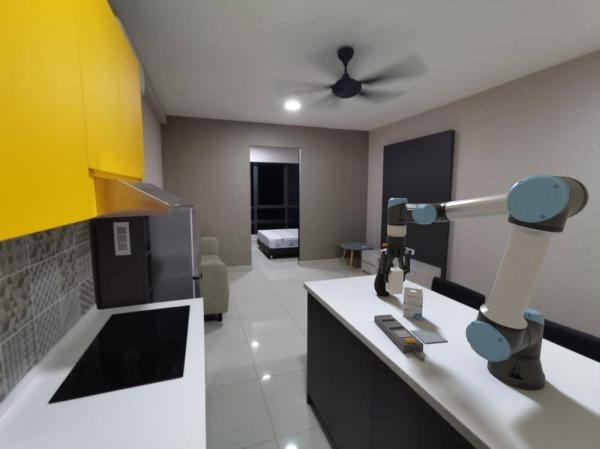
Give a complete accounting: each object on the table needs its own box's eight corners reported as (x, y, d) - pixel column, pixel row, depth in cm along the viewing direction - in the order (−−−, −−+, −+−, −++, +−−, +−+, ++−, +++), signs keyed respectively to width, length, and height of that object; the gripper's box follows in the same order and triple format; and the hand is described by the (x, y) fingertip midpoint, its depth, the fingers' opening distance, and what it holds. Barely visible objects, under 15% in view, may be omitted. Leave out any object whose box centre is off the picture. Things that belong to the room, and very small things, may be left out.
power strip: (432, 360, 100) (433, 350, 99) (412, 362, 98) (412, 352, 98) (390, 320, 131) (390, 312, 131) (374, 321, 130) (374, 313, 129)
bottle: (369, 292, 168) (371, 243, 165) (383, 290, 172) (385, 242, 169) (382, 298, 158) (384, 246, 155) (396, 296, 163) (398, 245, 160)
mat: (447, 341, 113) (447, 340, 113) (424, 343, 111) (424, 342, 111) (432, 329, 123) (432, 328, 123) (411, 331, 121) (411, 330, 121)
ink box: (422, 316, 136) (424, 286, 135) (421, 320, 132) (423, 289, 130) (403, 312, 140) (405, 283, 139) (402, 316, 136) (403, 286, 134)
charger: (402, 293, 118) (403, 269, 116) (391, 294, 117) (392, 270, 116) (396, 289, 122) (397, 266, 121) (385, 290, 122) (386, 267, 121)
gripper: (411, 233, 122) (408, 285, 125) (372, 234, 119) (370, 287, 122) (421, 236, 115) (418, 291, 117) (380, 237, 112) (378, 293, 114)
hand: (394, 289), depth 119 cm, fingers closed on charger, 5 cm apart
